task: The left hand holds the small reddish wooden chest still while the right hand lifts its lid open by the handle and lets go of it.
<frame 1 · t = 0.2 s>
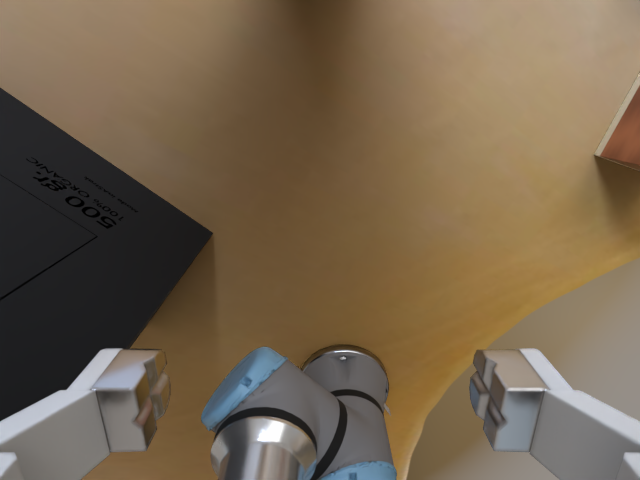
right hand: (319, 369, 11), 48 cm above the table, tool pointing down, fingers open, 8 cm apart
cardboard box: (67, 210, 59), on the table
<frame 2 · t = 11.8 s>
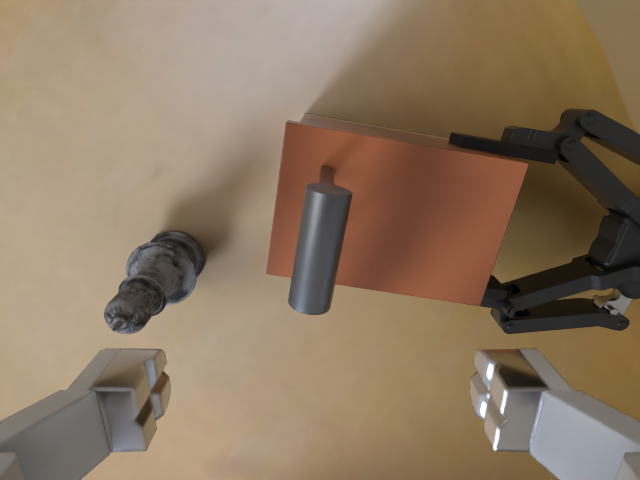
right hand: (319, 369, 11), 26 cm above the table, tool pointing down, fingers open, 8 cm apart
left hand: (435, 211, 29), fingers closed on chest, 10 cm apart
lid: (400, 239, 22), point 14 cm above the table, hinge at 0.0°
grey chess piece: (176, 257, 38), on the table
chest: (374, 184, 35), on the table, touching left hand
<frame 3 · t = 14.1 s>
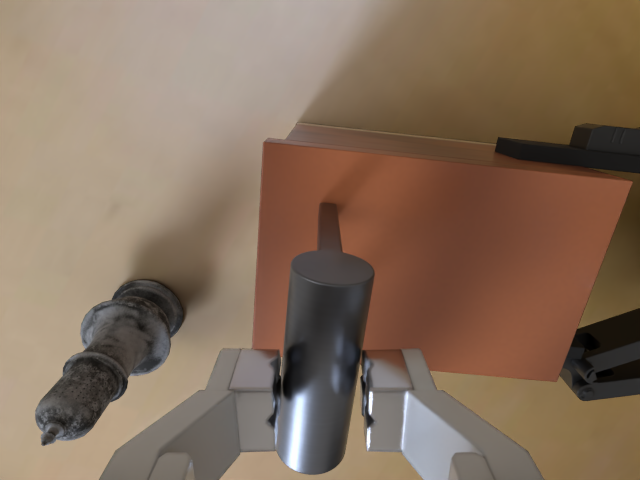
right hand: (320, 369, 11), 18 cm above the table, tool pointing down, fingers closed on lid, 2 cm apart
lid: (448, 313, 14), point 14 cm above the table, hinge at -0.1°, touching right hand
grey chess piece: (148, 310, 30), on the table
chest: (392, 207, 27), on the table, touching left hand
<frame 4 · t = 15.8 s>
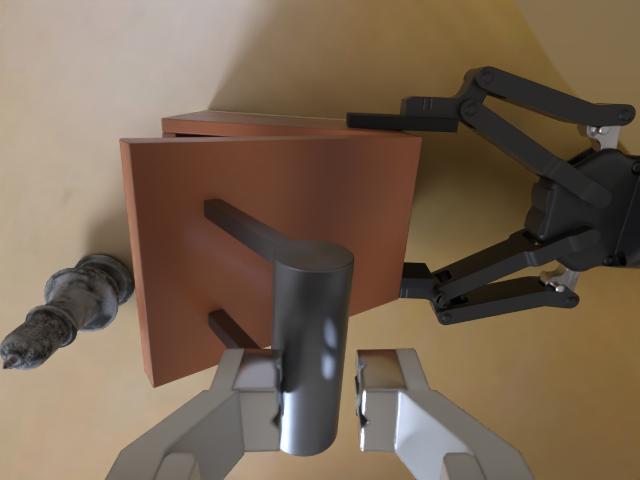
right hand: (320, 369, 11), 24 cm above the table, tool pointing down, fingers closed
left hand: (342, 201, 27), fingers closed on chest, 10 cm apart
lid: (350, 270, 16), point 18 cm above the table, hinge at 37.0°, touching right hand
grey chess piece: (104, 280, 36), on the table
chest: (293, 178, 33), on the table, touching left hand
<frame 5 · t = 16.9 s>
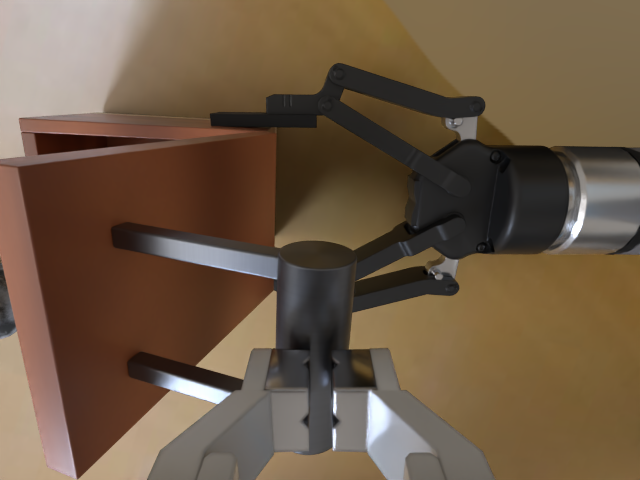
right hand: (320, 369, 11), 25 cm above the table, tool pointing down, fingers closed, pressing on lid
left hand: (221, 199, 28), fingers closed on chest, 10 cm apart
lid: (271, 270, 17), point 18 cm above the table, hinge at 68.9°, touching right hand
grey chess piece: (16, 288, 37), on the table
chest: (191, 178, 33), on the table, touching left hand
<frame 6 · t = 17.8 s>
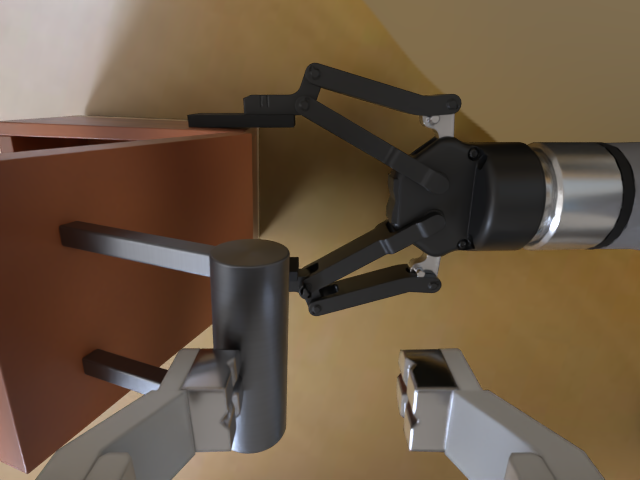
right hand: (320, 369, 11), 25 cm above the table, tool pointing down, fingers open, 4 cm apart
left hand: (202, 200, 28), fingers closed on chest, 10 cm apart
lid: (233, 269, 17), point 18 cm above the table, hinge at 66.6°, touching right hand
chest: (175, 180, 33), on the table, touching left hand
when the left hand's fingers open (6 cm above the table, at t = 21.6 s): chest stays where it is, on the table.
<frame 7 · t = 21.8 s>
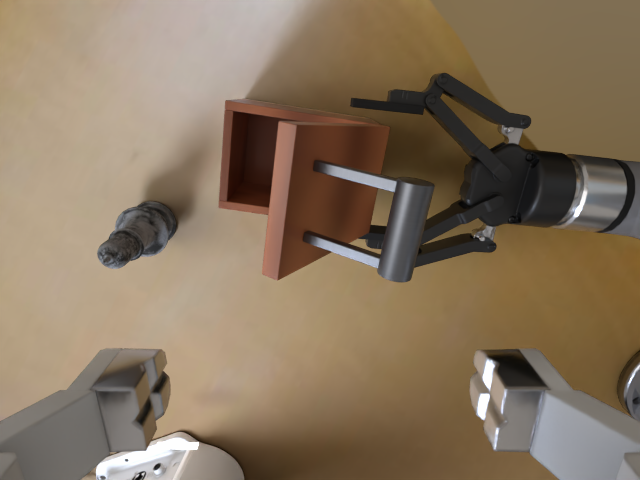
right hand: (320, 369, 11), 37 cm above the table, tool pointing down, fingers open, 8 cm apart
left hand: (343, 168, 40), fingers open, 12 cm apart
lid: (380, 203, 29), point 18 cm above the table, hinge at 59.3°
grey chess piece: (154, 222, 48), on the table
chest: (301, 153, 45), on the table
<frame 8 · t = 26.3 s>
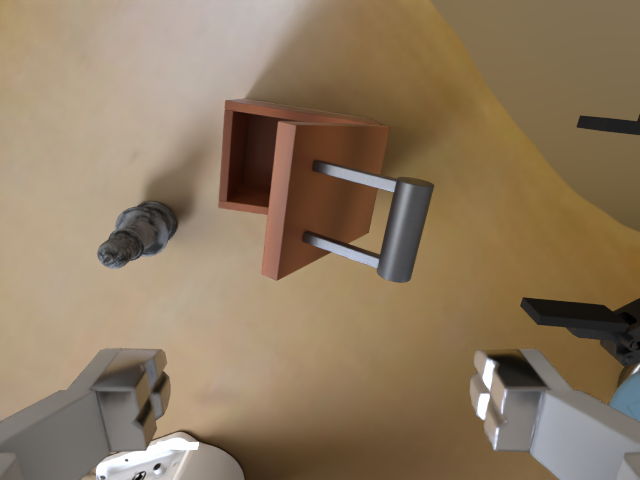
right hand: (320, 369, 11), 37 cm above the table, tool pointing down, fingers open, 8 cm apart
lid: (380, 203, 29), point 18 cm above the table, hinge at 59.3°
grey chess piece: (154, 222, 48), on the table
chest: (301, 153, 45), on the table
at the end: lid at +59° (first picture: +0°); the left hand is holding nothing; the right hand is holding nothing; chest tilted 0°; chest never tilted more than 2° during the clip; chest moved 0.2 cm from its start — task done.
